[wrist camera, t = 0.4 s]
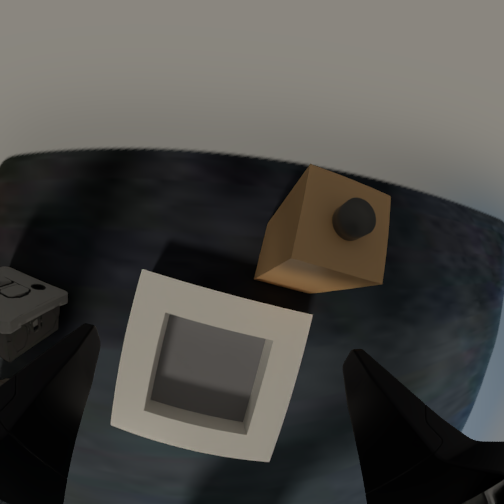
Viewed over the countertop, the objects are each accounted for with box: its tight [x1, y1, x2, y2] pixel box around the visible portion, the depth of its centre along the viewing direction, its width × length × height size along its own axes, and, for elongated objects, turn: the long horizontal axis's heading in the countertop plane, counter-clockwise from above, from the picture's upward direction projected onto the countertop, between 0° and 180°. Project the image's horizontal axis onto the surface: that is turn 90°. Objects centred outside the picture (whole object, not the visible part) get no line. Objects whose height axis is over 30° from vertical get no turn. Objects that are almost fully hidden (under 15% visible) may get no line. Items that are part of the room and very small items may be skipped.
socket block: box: [111, 269, 313, 462], centre depth 19 cm, size 13×13×3 cm
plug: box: [254, 164, 391, 294], centre depth 18 cm, size 6×5×12 cm
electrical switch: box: [0, 266, 68, 362], centre depth 15 cm, size 9×5×9 cm, turn 78°
